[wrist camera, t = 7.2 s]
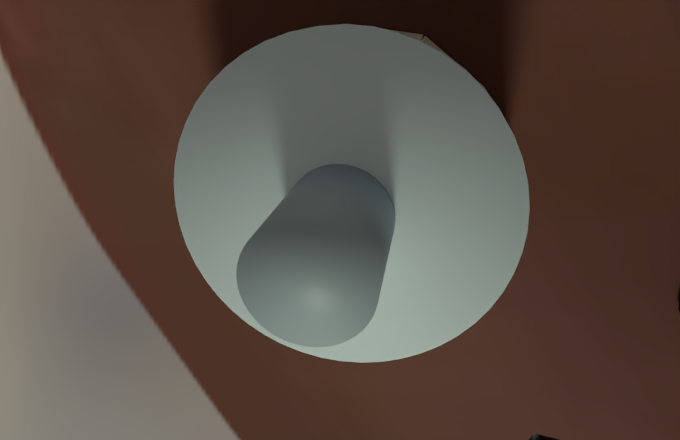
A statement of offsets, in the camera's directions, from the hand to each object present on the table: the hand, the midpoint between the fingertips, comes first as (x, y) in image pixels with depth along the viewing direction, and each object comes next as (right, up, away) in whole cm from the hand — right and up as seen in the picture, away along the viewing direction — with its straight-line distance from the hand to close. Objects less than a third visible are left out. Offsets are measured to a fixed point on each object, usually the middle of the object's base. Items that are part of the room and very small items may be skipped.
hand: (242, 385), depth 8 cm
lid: (+2, +3, +7) cm, 8 cm away
